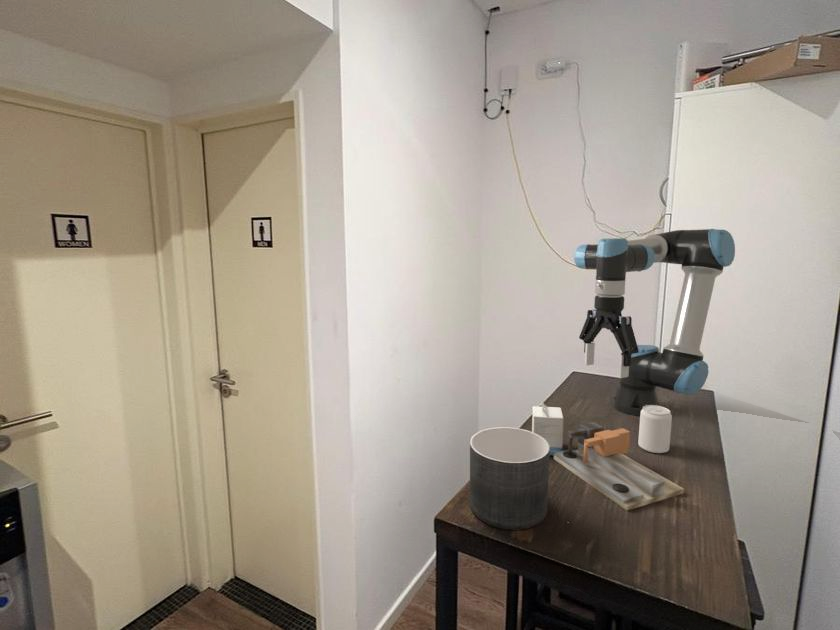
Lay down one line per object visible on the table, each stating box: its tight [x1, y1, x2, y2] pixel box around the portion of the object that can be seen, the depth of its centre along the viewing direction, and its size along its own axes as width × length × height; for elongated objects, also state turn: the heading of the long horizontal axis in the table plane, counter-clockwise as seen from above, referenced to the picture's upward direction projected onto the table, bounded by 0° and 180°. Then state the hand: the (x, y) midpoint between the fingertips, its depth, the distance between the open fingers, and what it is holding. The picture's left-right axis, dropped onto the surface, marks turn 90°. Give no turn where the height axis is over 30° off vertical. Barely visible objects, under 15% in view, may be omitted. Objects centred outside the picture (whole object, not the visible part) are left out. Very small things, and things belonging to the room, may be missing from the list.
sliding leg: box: [583, 427, 631, 463], centre depth 119 cm, size 14×4×7 cm, turn 111°
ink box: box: [531, 401, 564, 457], centre depth 130 cm, size 9×8×13 cm
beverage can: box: [637, 405, 673, 454], centre depth 129 cm, size 8×8×12 cm
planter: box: [469, 426, 551, 531], centre depth 102 cm, size 18×18×16 cm
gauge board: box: [553, 421, 685, 512], centre depth 115 cm, size 18×26×9 cm
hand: (605, 370), depth 125 cm, fingers open, 12 cm apart
